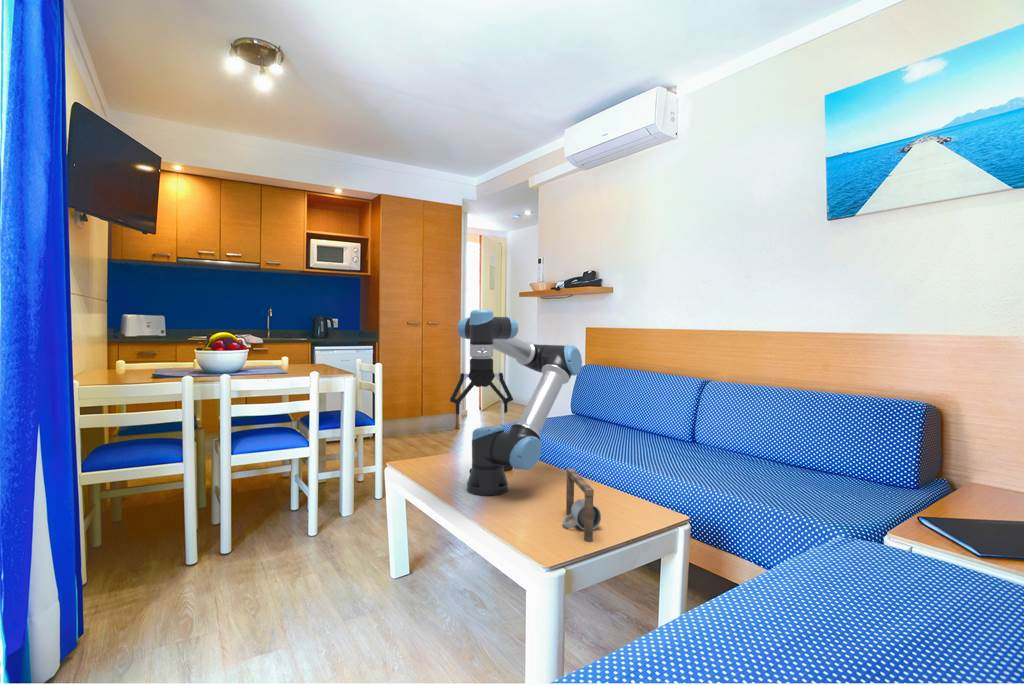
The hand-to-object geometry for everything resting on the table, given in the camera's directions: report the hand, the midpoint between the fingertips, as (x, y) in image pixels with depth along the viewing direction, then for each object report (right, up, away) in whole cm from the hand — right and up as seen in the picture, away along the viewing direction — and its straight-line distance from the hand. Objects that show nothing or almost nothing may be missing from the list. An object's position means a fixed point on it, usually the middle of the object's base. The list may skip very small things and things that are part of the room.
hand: (481, 423), depth 158 cm
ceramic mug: (+31, -29, -12) cm, 44 cm away
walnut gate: (+30, -29, -11) cm, 43 cm away
